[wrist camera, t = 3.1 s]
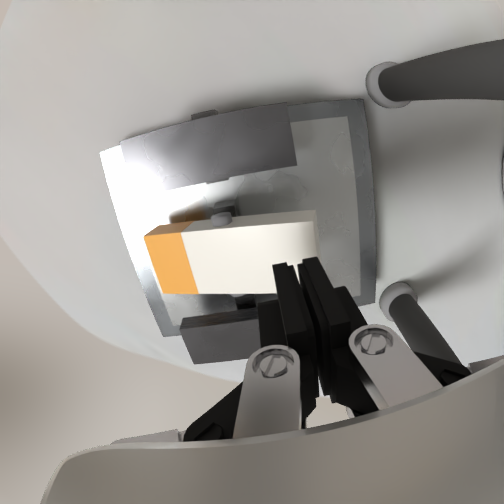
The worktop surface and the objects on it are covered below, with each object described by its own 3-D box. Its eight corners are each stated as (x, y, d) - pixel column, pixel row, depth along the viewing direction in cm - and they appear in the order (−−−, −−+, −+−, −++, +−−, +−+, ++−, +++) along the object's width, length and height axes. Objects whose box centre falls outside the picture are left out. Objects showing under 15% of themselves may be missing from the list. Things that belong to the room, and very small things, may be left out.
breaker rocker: (314, 201, 14) (312, 212, 12) (323, 281, 16) (320, 299, 14) (155, 218, 17) (139, 229, 15) (176, 284, 18) (163, 299, 17)
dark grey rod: (412, 278, 22) (535, 450, 6) (409, 309, 24) (509, 475, 7) (380, 286, 23) (491, 481, 6) (378, 317, 24) (466, 501, 8)
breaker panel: (348, 95, 17) (385, 87, 12) (364, 289, 23) (391, 334, 17) (114, 142, 18) (70, 152, 13) (171, 321, 24) (155, 371, 19)
